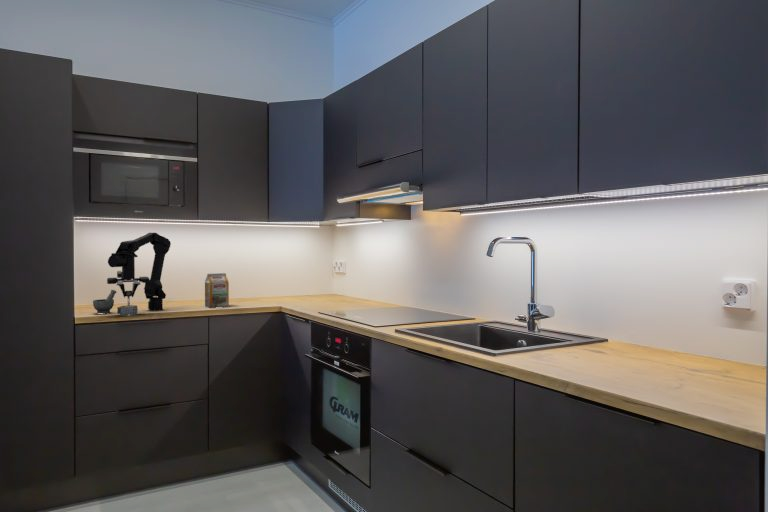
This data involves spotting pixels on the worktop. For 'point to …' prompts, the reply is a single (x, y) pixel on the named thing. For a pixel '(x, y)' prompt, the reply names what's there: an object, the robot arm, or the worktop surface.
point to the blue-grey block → (127, 310)
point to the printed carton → (216, 290)
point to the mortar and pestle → (104, 303)
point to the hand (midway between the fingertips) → (128, 297)
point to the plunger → (128, 297)
